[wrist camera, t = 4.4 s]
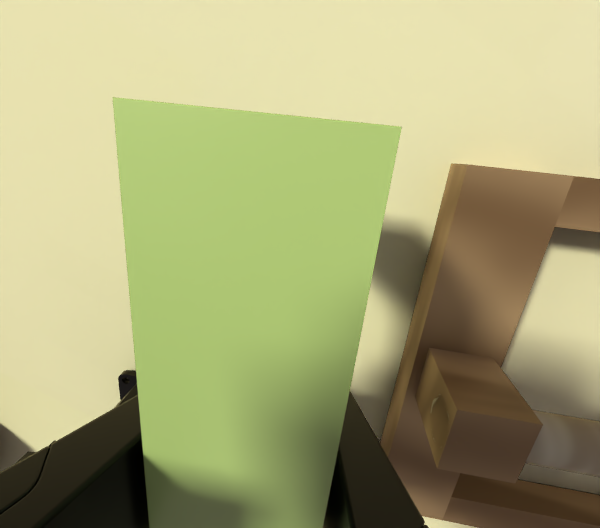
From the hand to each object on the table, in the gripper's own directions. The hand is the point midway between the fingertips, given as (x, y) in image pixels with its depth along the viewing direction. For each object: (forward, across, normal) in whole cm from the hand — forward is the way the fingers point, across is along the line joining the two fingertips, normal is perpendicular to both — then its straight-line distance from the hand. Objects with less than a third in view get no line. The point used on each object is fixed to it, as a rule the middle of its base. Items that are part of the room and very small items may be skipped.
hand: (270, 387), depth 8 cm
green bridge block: (+4, 0, 0) cm, 4 cm away
